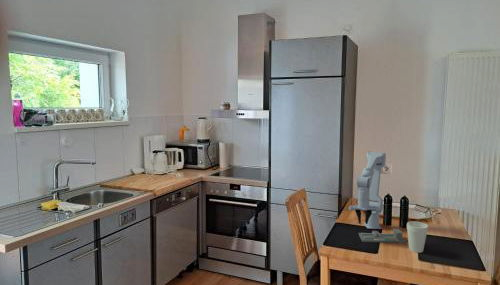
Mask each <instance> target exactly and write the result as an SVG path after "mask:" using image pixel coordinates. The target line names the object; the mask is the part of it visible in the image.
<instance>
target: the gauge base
mask: <svg viewBox="0 0 500 285" xmlns="http://www.w3.org/2000/svg"><path fill="white" fill-rule="evenodd" d="M379 233H380V232H379ZM358 234H359V235H358V237H359V238H360V240H361V242H362V243H381V244H382V243H383V244H387V243H391V244H392V243H394V244H407V240H406V239H405V238H404V237H403V234H404V233H403V231H401V229H400V228H392V233H382V232H381V233H380V237H373V235H372V232H371V233H369V232H368V233H367V232H358Z"/></svg>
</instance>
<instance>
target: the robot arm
mask: <svg viewBox="0 0 500 285" xmlns="http://www.w3.org/2000/svg"><path fill="white" fill-rule="evenodd" d="M365 159H366V162H367V164H366V167H364V168H363V169H362V172H361V175H360V176H358V177H357V180H356V185H357V186H356V187H357V190H358V191H357V192H358V194H357V205H349V207H348V209H349V211H355V214H356V216H357V219H358V220H357V221H358V222H357V223H358V224H359V225H362V220H361V219H362V211H364V212H365V215H364V217H365V218H364V219H365V220H364V221H363V225H364V226H365V227H366V229H370V230H371V229H373V230H375V229H376V230H377V229H378V230H381V229H382V227H381V225H380V213H382V212H383V208H384V200H383V198H382V197H381V196H380V195H379V193H380V192H379V191H380V181H381V173H382V169H383V168H385V167H386V163H387V156H386V153H385V152H378V151H367V152H366V158H365Z"/></svg>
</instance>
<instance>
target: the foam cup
mask: <svg viewBox="0 0 500 285" xmlns="http://www.w3.org/2000/svg"><path fill="white" fill-rule="evenodd" d="M406 230H407V241H408V250H409V251H411V252H414V253H417V254H419V253H423V252H424V248H425V243H426V240H427V235H428V232H429V225H428V224H427V223H424V222H421V221H416V220H414V221H408V222H406Z"/></svg>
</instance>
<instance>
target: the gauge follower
mask: <svg viewBox="0 0 500 285" xmlns="http://www.w3.org/2000/svg"><path fill="white" fill-rule="evenodd" d="M371 233H372V235H373V237H380V232H379V230H372V232H371Z"/></svg>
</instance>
